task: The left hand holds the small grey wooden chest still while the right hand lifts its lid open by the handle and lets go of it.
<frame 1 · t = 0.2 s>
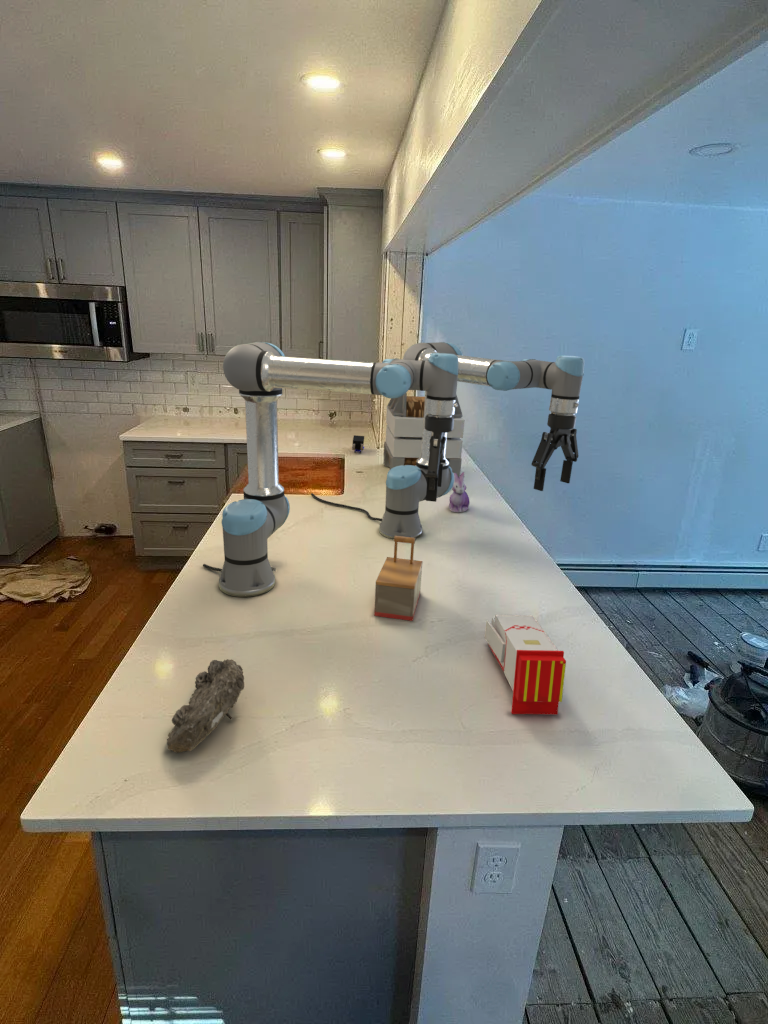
left hand: (433, 493, 154), 28 cm above the counter, tool pointing down, fingers open, 13 cm apart
right hand: (551, 486, 166), 28 cm above the counter, tool pointing down, fingers open, 13 cm apart
lid: (400, 559, 148), point 13 cm above the counter, hinge at 0.0°
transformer: (419, 473, 275), on the counter
figurine character: (358, 451, 311), on the counter
chest: (398, 604, 152), on the counter
fossil: (212, 717, 108), on the counter
figurine: (458, 509, 227), on the counter
toy: (516, 673, 125), on the counter
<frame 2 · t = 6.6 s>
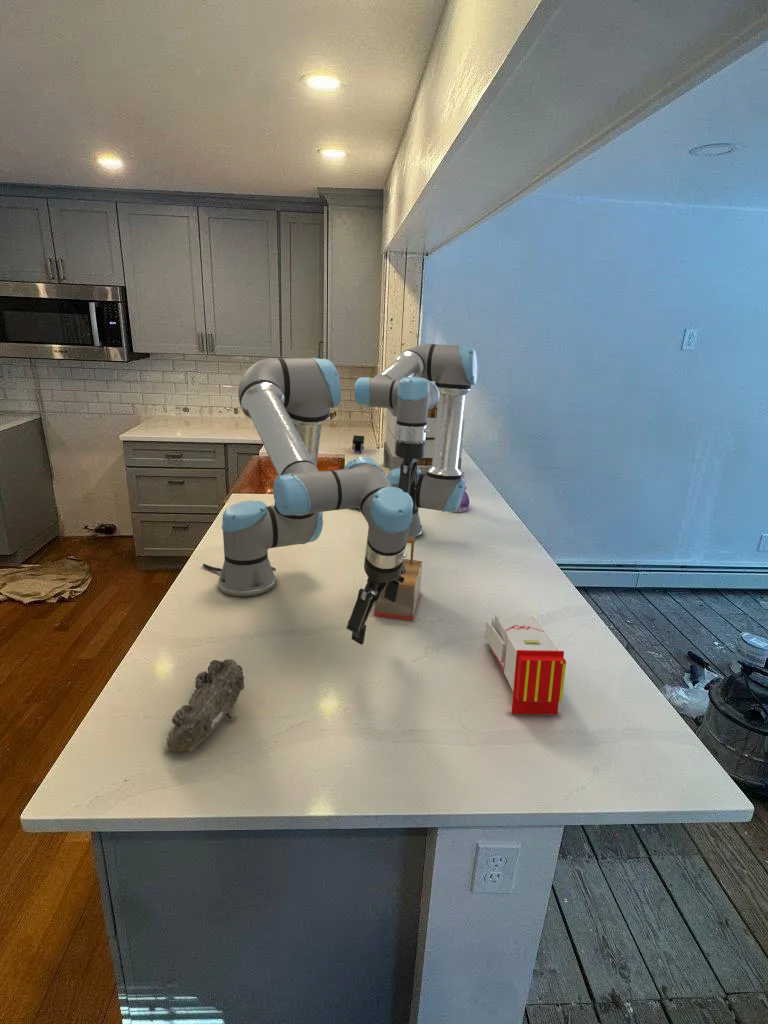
left hand: (374, 619, 126), 10 cm above the counter, tool tilted 25°, fingers open, 13 cm apart
right hand: (405, 519, 150), 22 cm above the counter, tool pointing down, fingers open, 13 cm apart
nothing on the counter moved.
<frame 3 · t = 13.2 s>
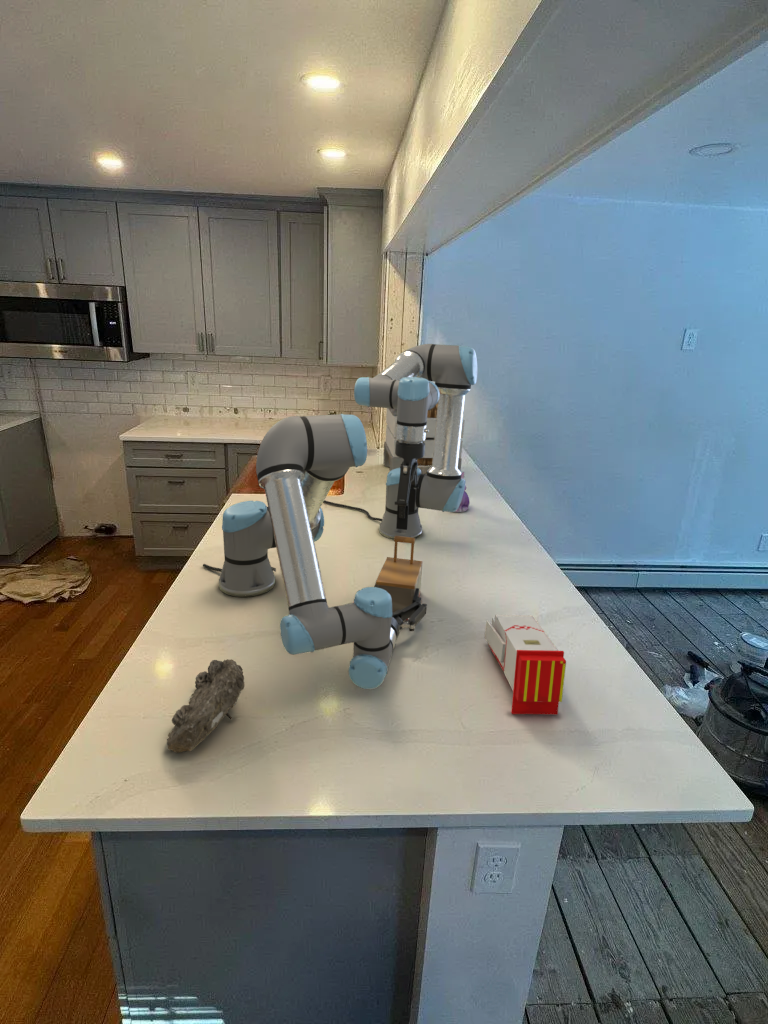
left hand: (397, 590, 147), 6 cm above the counter, tool horizontal, fingers closed on chest, 10 cm apart
right hand: (405, 519, 150), 22 cm above the counter, tool pointing down, fingers open, 13 cm apart
chest: (398, 604, 152), on the counter, touching left hand
everything else where it was.
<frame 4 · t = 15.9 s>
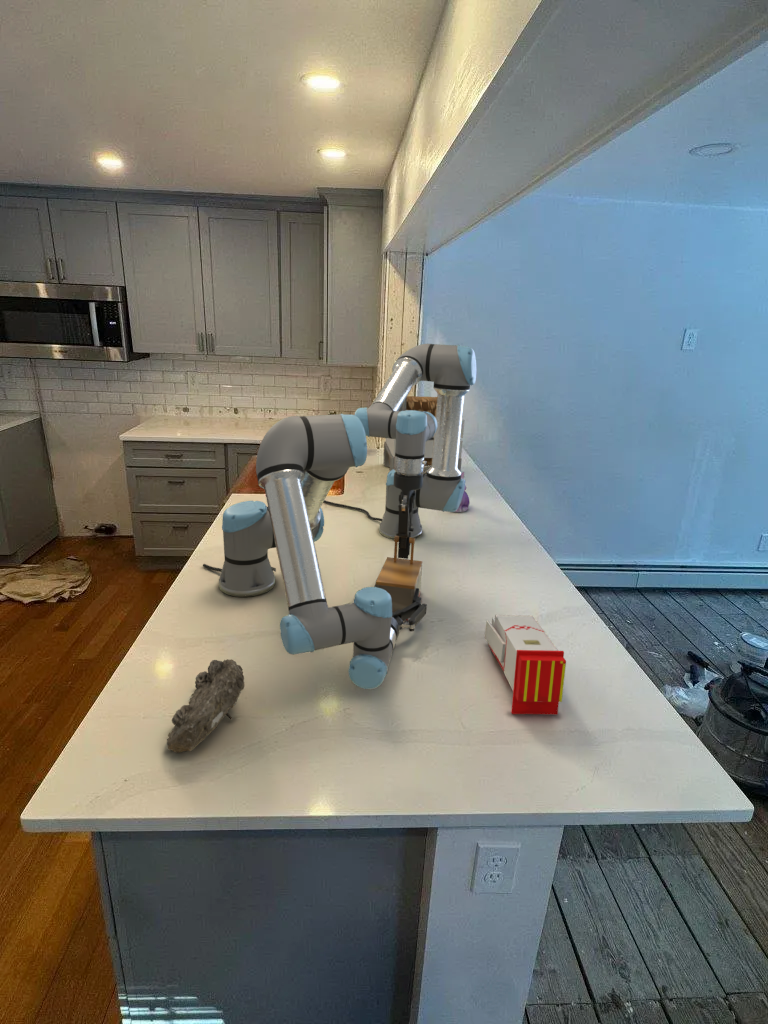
left hand: (397, 590, 147), 6 cm above the counter, tool horizontal, fingers closed on chest, 10 cm apart
right hand: (403, 555, 153), 12 cm above the counter, tool pointing down, fingers closed on lid, 2 cm apart
lid: (400, 559, 148), point 13 cm above the counter, hinge at -0.1°, touching right hand
chest: (398, 604, 152), on the counter, touching left hand
everything else where it was.
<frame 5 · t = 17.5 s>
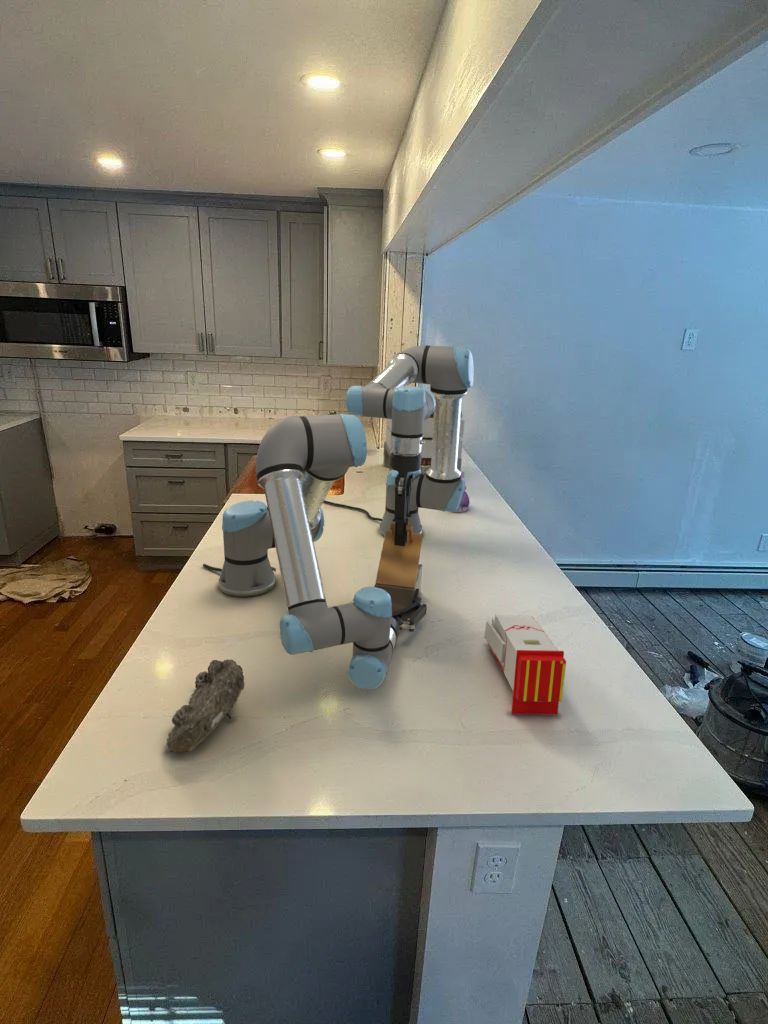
left hand: (396, 590, 147), 6 cm above the counter, tool horizontal, fingers closed on chest, 10 cm apart
right hand: (400, 543, 144), 19 cm above the counter, tool pointing down, fingers closed on lid, 2 cm apart
lid: (398, 551, 143), point 17 cm above the counter, hinge at 37.6°, touching right hand
chest: (398, 604, 152), on the counter, touching left hand
everything else where it was.
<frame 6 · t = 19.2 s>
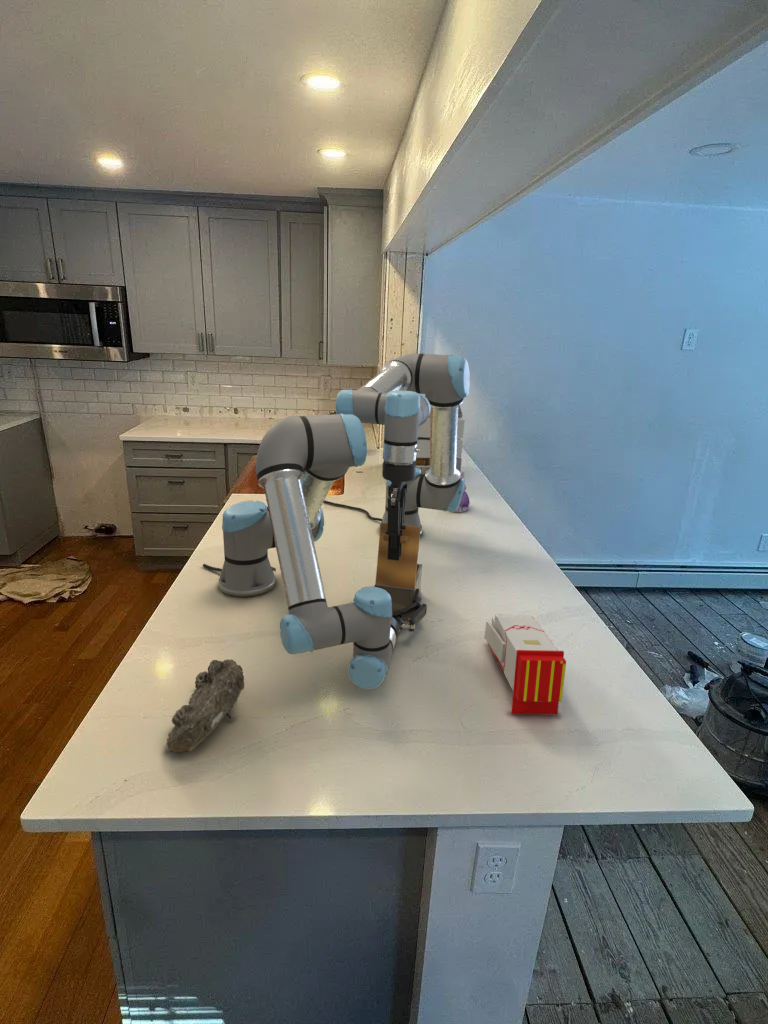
left hand: (397, 590, 147), 6 cm above the counter, tool horizontal, fingers closed on chest, 10 cm apart
right hand: (394, 557, 135), 19 cm above the counter, tool pointing down, fingers closed
lid: (395, 557, 137), point 18 cm above the counter, hinge at 73.8°
chest: (398, 603, 152), on the counter, touching left hand
everything else where it was.
when the left hand's fingers open (6 cm above the counter, at t = 23.3 s): chest stays where it is, on the counter.
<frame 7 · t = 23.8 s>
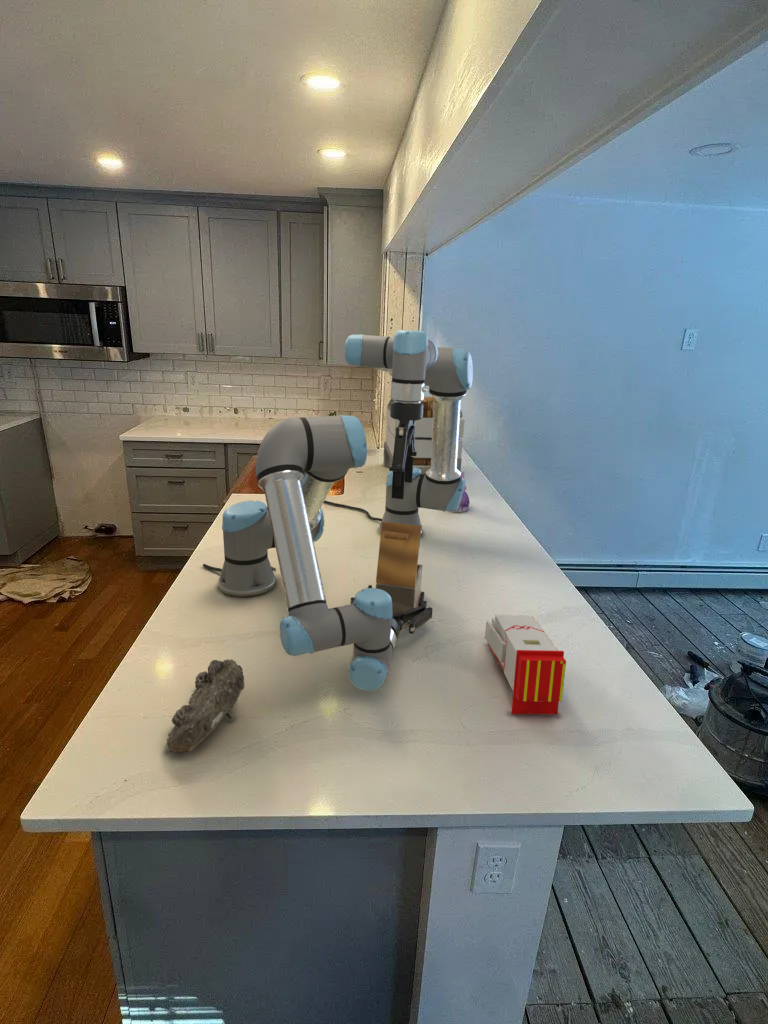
left hand: (396, 592, 145), 6 cm above the counter, tool horizontal, fingers open, 13 cm apart
right hand: (402, 489, 137), 34 cm above the counter, tool pointing down, fingers open, 13 cm apart
lid: (396, 555, 138), point 18 cm above the counter, hinge at 71.8°
chest: (398, 604, 152), on the counter
everything else where it was.
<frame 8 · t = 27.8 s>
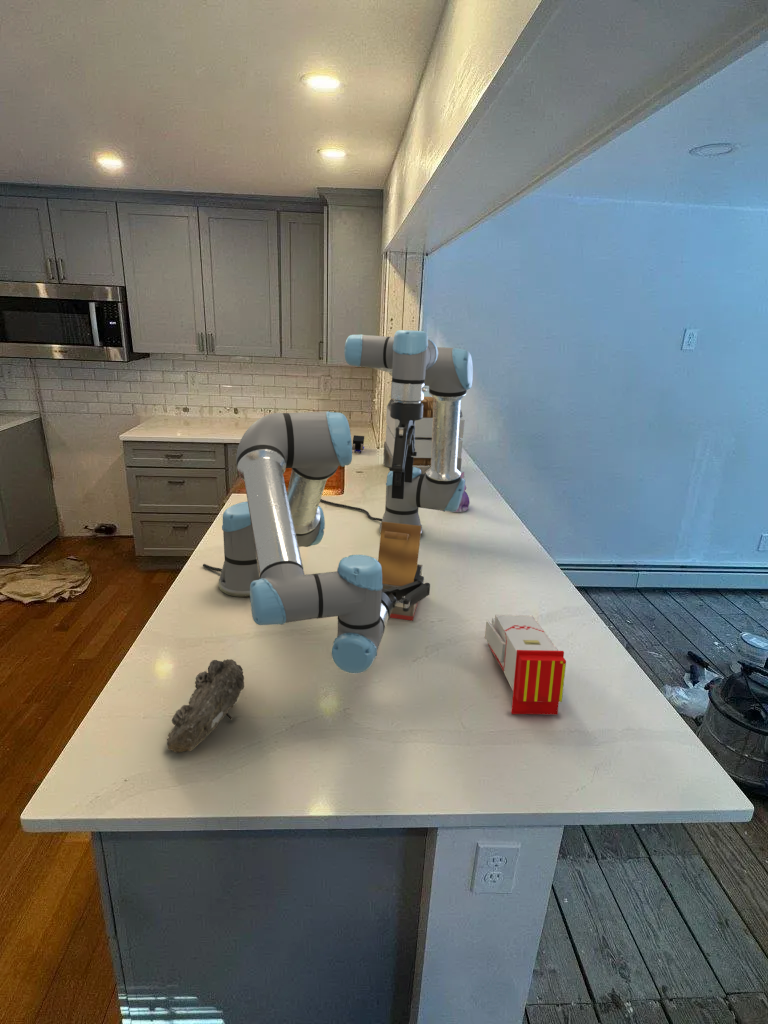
left hand: (389, 568, 130), 19 cm above the counter, tool horizontal, fingers open, 13 cm apart
right hand: (402, 489, 137), 34 cm above the counter, tool pointing down, fingers open, 13 cm apart
nothing on the counter moved.
at the end: lid at +72° (first picture: +0°); the left hand is holding nothing; the right hand is holding nothing; chest tilted 0°; chest never tilted more than 2° during the clip; chest moved 0.2 cm from its start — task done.
